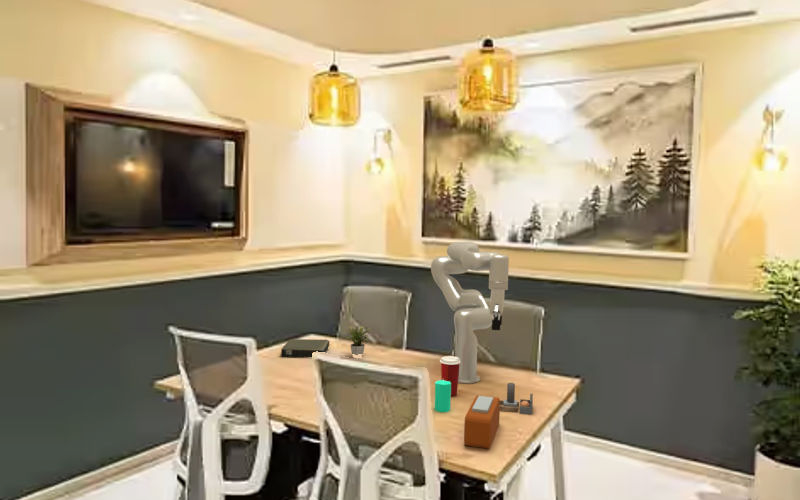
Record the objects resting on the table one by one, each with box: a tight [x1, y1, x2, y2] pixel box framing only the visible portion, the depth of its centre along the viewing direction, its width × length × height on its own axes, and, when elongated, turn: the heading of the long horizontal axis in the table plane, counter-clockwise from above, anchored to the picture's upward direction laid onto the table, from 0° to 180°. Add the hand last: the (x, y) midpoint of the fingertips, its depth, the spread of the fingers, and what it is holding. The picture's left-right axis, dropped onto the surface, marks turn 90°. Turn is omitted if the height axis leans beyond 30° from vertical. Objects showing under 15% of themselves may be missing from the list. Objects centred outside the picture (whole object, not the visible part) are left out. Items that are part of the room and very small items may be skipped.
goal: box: [519, 393, 534, 415], centre depth 229 cm, size 5×9×5 cm, turn 167°
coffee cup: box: [439, 355, 460, 398], centre depth 245 cm, size 8×8×15 cm
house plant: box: [345, 325, 373, 355], centre depth 298 cm, size 14×14×16 cm
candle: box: [434, 379, 452, 413], centre depth 227 cm, size 6×6×12 cm
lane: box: [500, 399, 520, 413], centre depth 231 cm, size 17×7×2 cm, turn 77°
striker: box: [503, 382, 518, 407], centre depth 230 cm, size 5×4×9 cm
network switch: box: [280, 338, 330, 358], centre depth 307 cm, size 23×23×5 cm
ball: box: [521, 401, 530, 407], centre depth 229 cm, size 3×3×3 cm
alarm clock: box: [463, 395, 501, 450], centre depth 204 cm, size 24×8×11 cm, turn 163°
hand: (496, 327), depth 243 cm, fingers open, 9 cm apart
